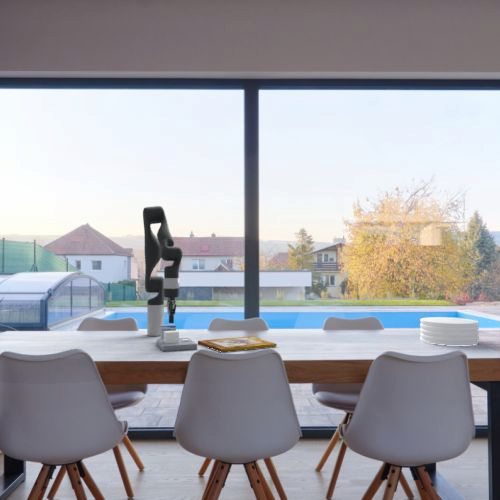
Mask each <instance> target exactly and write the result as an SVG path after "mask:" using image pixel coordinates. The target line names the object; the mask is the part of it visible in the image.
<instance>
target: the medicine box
mask: <svg viewBox="0 0 500 500" xmlns="http://www.w3.org/2000/svg"><path fill="white" fill-rule="evenodd" d="M164 331H177V325H176V324H164V325H160V336H159V339H164Z"/></svg>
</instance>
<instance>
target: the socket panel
mask: <svg viewBox="0 0 500 500" xmlns="http://www.w3.org/2000/svg"><path fill="white" fill-rule="evenodd" d="M156 345H157V346H158V348H160V350H161V351H163V352H175V351H177V350H179V351H190V350H189V349H194V350H198V343H197V342H195V341H194V340H192V339H191V338H189V337H179V342H178V343H165V342H164V339H160V338H158V339H156Z"/></svg>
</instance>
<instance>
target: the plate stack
mask: <svg viewBox="0 0 500 500" xmlns="http://www.w3.org/2000/svg"><path fill="white" fill-rule="evenodd" d="M419 322H420V324H419V327H420V328H419V332H420V333H419V336H420V338H419V339H420V340H422V341H425V342H429V343H435V344H445V345H473V344H478V343H479V344H480V342H479V340H480V336H479V335H480V333H479V329H480V328H479V326H478V325H479V324H480V323H479V321H478V320H476V319H471V318H464V317H463V318H462V317H450V316H449V317H448V316H447V317H446V316H433V317H432V316H431V317H422V318H420V319H419ZM420 340H419V341H420Z"/></svg>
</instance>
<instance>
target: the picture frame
mask: <svg viewBox="0 0 500 500" xmlns="http://www.w3.org/2000/svg"><path fill="white" fill-rule="evenodd" d="M200 344H201V346H202V345H204V346H203V347H205V346H206V347H205V348H207V347H209V348H208V349H210V348H213V349H215V350H218V351H221V352H224V353H229V352H228V351H233V352H237V351H236V350H243V351H246V350H245V349H253V350H256V349H255V348H262V349H266V348H265V347H272V348H276V347H275V346H277V343H275V342H272V341H268V340H265V339H261V338H257V337H255V336H250V335H249V336H238V337H236V336H235V337H225V338H216V339H215V338H213V339H202V340H198V341H197V345H200ZM213 349H212V350H213ZM215 350H214V351H215ZM218 351H217V352H218ZM221 352H220V353H221Z"/></svg>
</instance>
